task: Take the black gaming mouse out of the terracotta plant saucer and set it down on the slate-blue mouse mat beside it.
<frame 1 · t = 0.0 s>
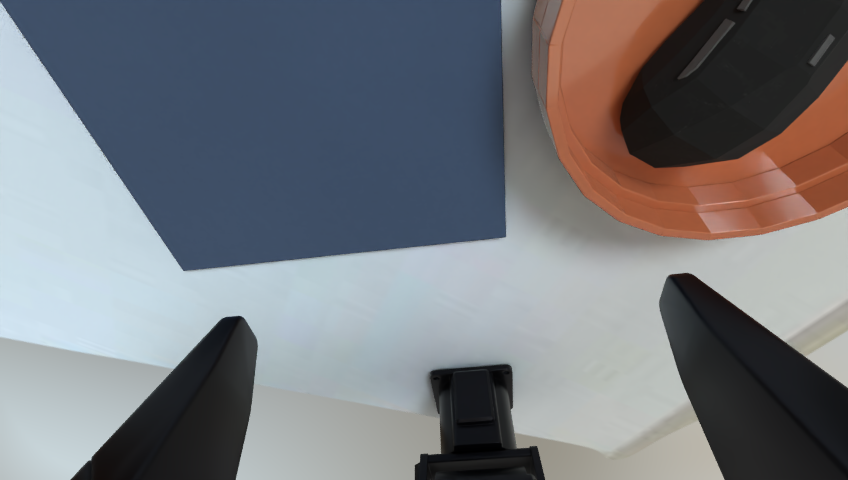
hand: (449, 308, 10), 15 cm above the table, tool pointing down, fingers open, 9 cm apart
mouse mat: (281, 77, 22), on the table
terracotta plant saucer: (761, 12, 20), on the table
gaming mouse: (763, 13, 20), resting on terracotta plant saucer
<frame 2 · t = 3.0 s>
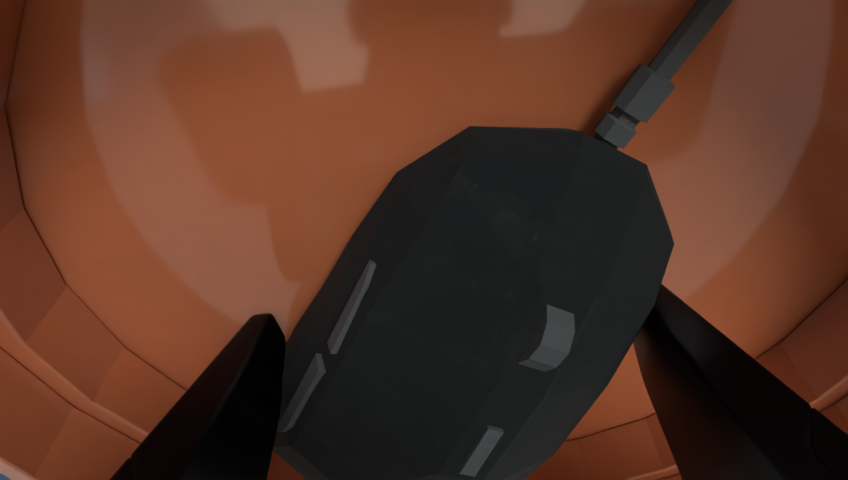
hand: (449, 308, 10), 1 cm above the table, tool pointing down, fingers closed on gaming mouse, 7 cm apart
terracotta plant saucer: (455, 273, 11), on the table
gaming mouse: (467, 277, 11), resting on terracotta plant saucer, touching gripper
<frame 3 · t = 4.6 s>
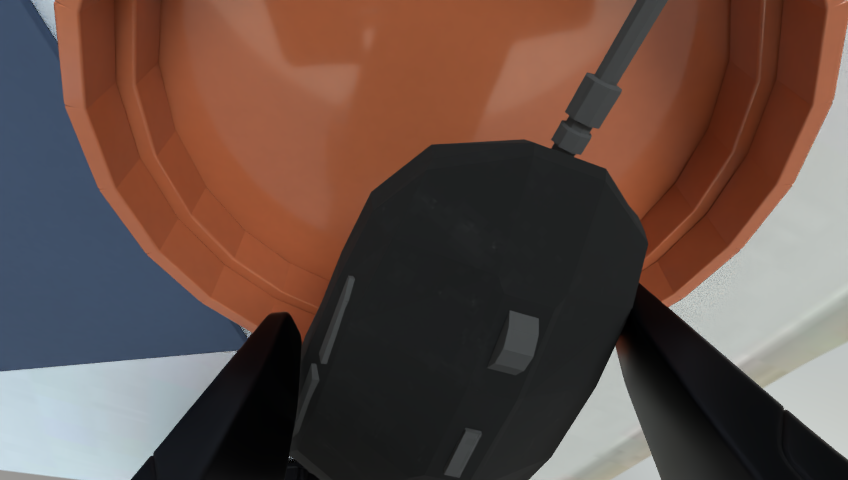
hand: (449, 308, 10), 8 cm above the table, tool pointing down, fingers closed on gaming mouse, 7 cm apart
terracotta plant saucer: (442, 123, 16), on the table
gaming mouse: (460, 285, 11), point 7 cm above the table, touching gripper
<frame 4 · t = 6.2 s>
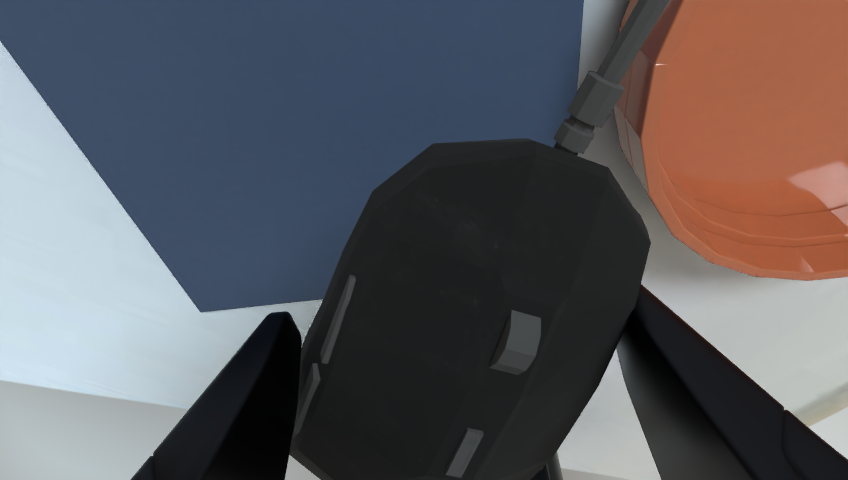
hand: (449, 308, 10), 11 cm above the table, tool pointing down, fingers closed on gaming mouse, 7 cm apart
mouse mat: (316, 102, 19), on the table
gaming mouse: (462, 284, 11), point 10 cm above the table, touching gripper
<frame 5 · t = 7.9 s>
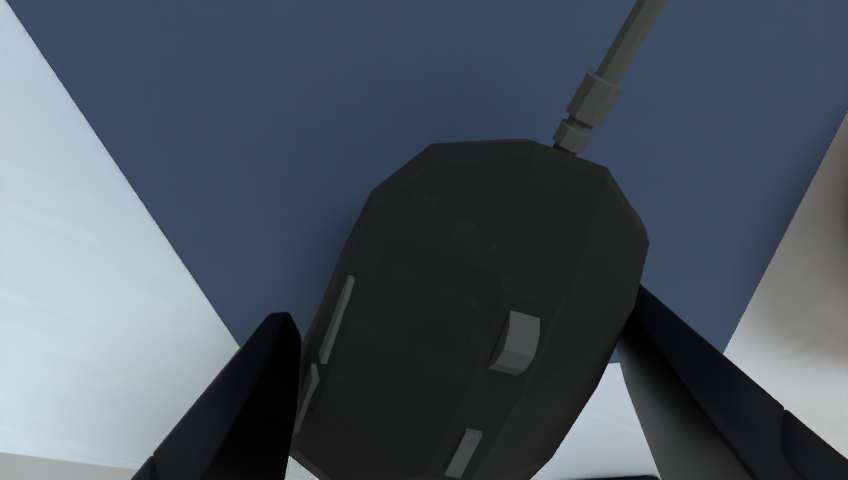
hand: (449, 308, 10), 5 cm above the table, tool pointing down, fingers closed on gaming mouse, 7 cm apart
mouse mat: (471, 159, 14), on the table
gaming mouse: (461, 284, 11), point 4 cm above the table, touching gripper
when the fingers open (1 cm above the table, at t = 9.4 s): gaming mouse stays where it is, resting on mouse mat.
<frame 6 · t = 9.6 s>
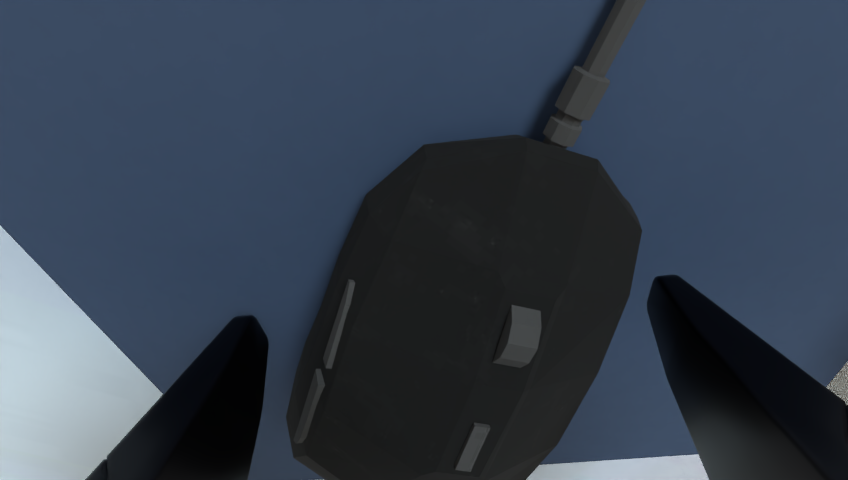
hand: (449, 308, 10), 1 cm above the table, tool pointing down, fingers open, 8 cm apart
mouse mat: (488, 256, 11), on the table
gaming mouse: (458, 281, 11), resting on mouse mat
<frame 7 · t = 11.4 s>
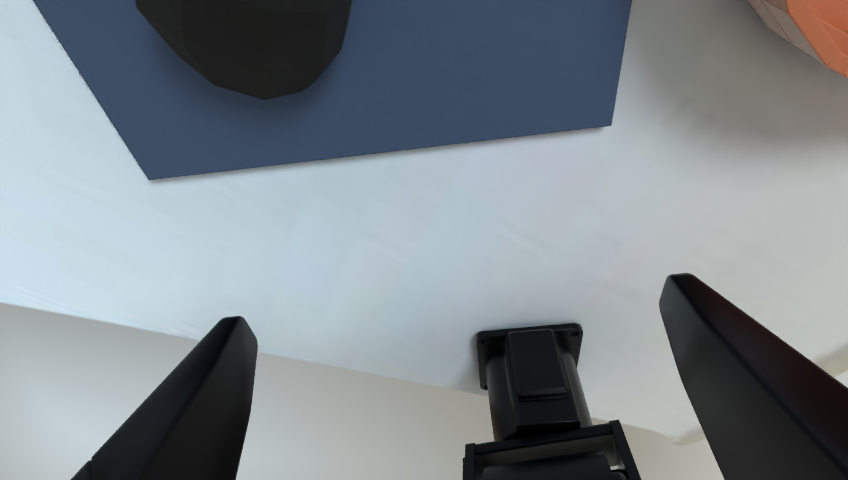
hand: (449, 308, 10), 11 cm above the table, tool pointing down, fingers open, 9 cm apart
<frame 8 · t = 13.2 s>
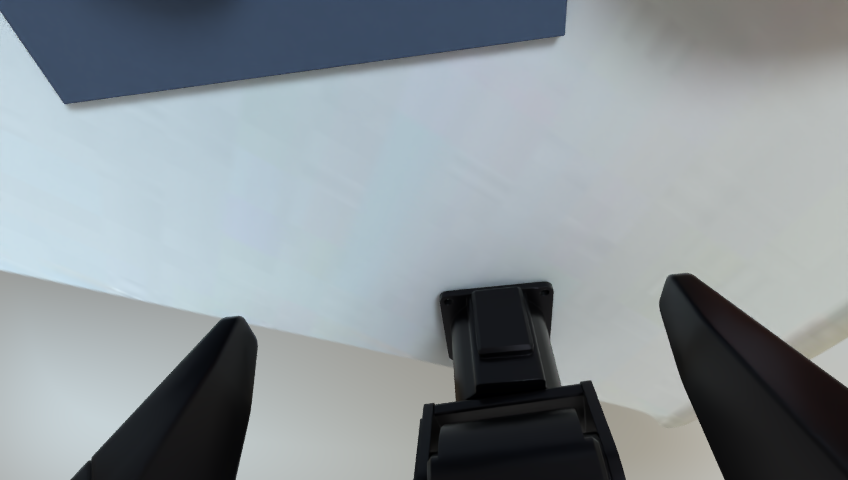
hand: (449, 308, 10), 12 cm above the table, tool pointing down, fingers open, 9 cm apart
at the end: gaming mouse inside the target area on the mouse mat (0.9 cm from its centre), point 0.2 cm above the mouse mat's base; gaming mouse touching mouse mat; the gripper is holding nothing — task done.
